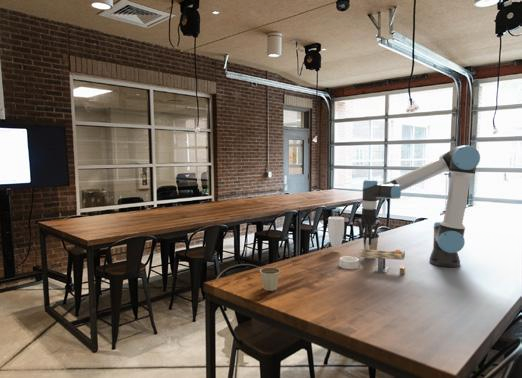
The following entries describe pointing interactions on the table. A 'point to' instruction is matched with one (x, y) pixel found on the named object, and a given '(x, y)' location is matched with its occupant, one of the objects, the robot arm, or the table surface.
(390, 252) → the lever
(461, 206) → the robot arm
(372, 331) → the table surface
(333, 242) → the cup
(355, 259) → the bowl
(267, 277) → the flower pot
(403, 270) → the fulcrum
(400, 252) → the ball
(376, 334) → the table surface
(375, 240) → the coffee cup
